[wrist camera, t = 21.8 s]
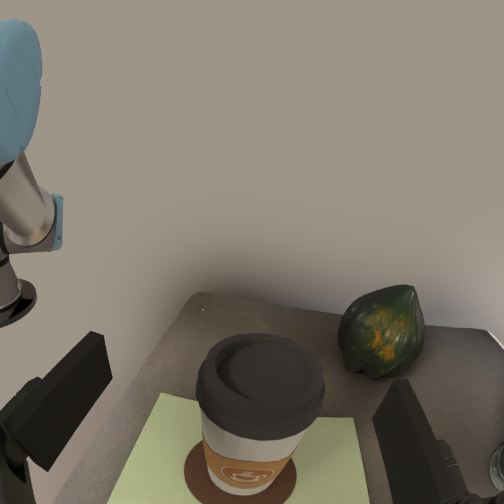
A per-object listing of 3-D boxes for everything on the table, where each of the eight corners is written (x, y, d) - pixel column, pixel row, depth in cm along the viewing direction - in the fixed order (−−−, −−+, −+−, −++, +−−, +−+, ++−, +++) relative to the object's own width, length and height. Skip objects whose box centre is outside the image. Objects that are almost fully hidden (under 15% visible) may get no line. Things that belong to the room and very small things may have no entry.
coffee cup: (192, 499, 16) (181, 406, 12) (203, 435, 24) (207, 322, 20) (285, 507, 16) (345, 418, 12) (282, 442, 24) (319, 334, 20)
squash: (307, 331, 38) (396, 281, 30) (342, 303, 50) (408, 262, 42) (350, 406, 35) (441, 372, 26) (375, 363, 47) (442, 330, 38)
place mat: (98, 526, 10) (95, 524, 10) (161, 394, 29) (161, 391, 29) (374, 557, 9) (377, 556, 9) (351, 419, 28) (353, 416, 28)
